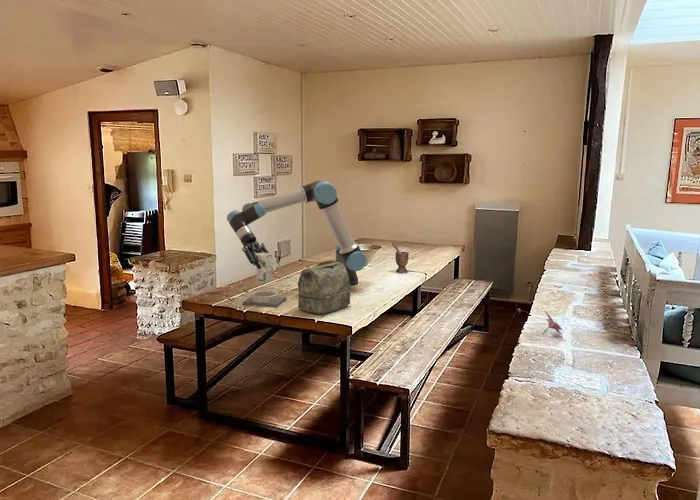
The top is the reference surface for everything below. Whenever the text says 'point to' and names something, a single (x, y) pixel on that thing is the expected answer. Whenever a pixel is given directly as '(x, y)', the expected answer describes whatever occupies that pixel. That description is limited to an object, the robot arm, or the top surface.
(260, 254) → the syrup box
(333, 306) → the lunch bag
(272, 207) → the robot arm
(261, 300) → the ring block
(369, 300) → the top surface
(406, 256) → the mortar and pestle
